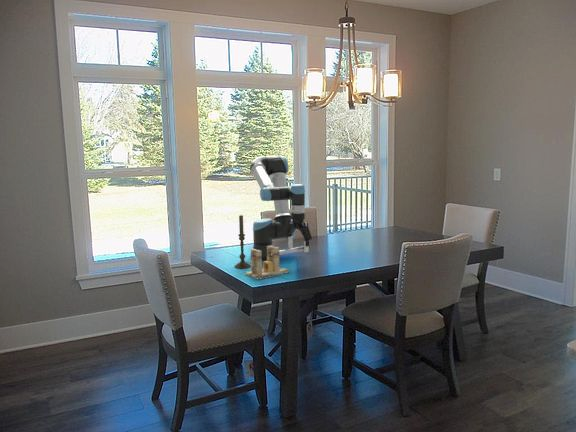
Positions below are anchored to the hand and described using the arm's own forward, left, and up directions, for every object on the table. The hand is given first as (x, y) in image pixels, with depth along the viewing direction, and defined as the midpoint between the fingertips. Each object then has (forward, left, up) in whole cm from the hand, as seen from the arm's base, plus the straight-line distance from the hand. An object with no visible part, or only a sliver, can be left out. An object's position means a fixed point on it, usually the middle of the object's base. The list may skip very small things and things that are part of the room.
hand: (298, 249), depth 264 cm
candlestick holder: (-7, -31, -10) cm, 33 cm away
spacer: (+11, -18, -8) cm, 23 cm away
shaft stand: (+11, -19, -9) cm, 24 cm away
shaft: (+3, -5, -2) cm, 7 cm away
